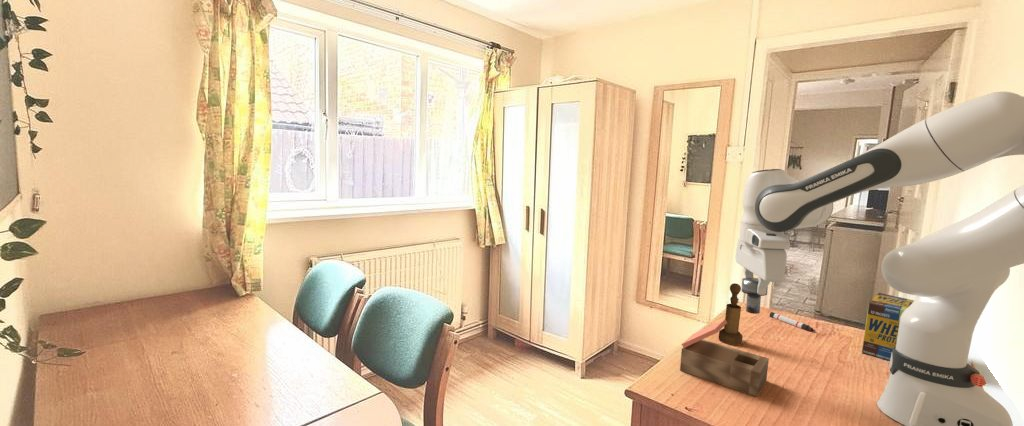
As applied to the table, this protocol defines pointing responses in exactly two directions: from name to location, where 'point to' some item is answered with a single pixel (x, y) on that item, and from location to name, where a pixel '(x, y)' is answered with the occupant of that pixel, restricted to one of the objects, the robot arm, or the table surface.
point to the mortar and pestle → (732, 319)
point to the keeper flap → (705, 333)
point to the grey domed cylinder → (752, 294)
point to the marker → (791, 321)
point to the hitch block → (725, 366)
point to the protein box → (883, 324)
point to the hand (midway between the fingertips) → (754, 289)
